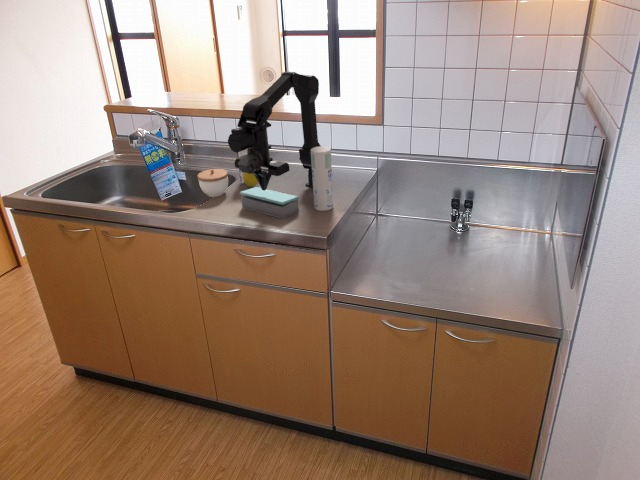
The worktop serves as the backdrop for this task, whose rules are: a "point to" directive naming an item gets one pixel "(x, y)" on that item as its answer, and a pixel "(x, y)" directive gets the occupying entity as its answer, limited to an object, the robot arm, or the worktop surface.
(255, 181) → the lemon
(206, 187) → the lidded jar
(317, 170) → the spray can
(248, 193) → the lid
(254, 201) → the grey rectangular box
